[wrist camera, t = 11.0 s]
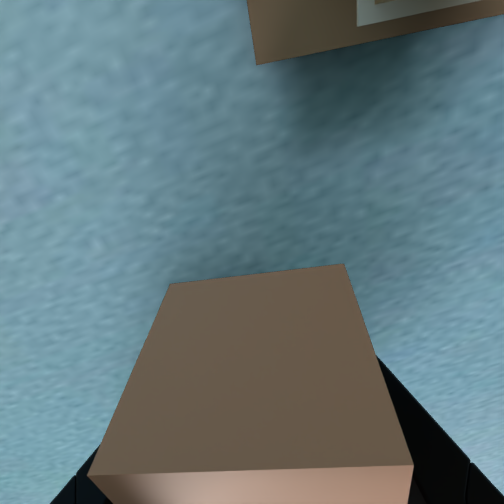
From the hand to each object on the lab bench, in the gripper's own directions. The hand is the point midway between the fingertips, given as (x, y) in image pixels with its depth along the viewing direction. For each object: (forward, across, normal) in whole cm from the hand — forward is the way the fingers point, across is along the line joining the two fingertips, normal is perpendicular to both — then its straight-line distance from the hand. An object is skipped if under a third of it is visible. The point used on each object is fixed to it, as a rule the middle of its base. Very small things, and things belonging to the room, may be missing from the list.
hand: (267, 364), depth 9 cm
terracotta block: (+1, 0, 0) cm, 1 cm away
